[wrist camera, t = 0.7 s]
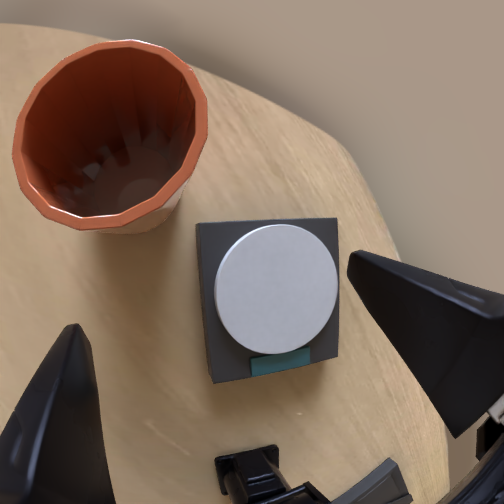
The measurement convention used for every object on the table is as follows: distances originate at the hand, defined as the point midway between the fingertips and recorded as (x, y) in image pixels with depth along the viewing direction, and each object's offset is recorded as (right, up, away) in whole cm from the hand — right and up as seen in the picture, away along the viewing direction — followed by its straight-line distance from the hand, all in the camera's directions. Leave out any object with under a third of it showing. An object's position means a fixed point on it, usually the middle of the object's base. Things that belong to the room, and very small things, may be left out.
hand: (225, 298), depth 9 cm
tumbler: (-8, +6, +11) cm, 15 cm away
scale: (+2, -2, +15) cm, 15 cm away
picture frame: (+20, -42, +23) cm, 51 cm away
